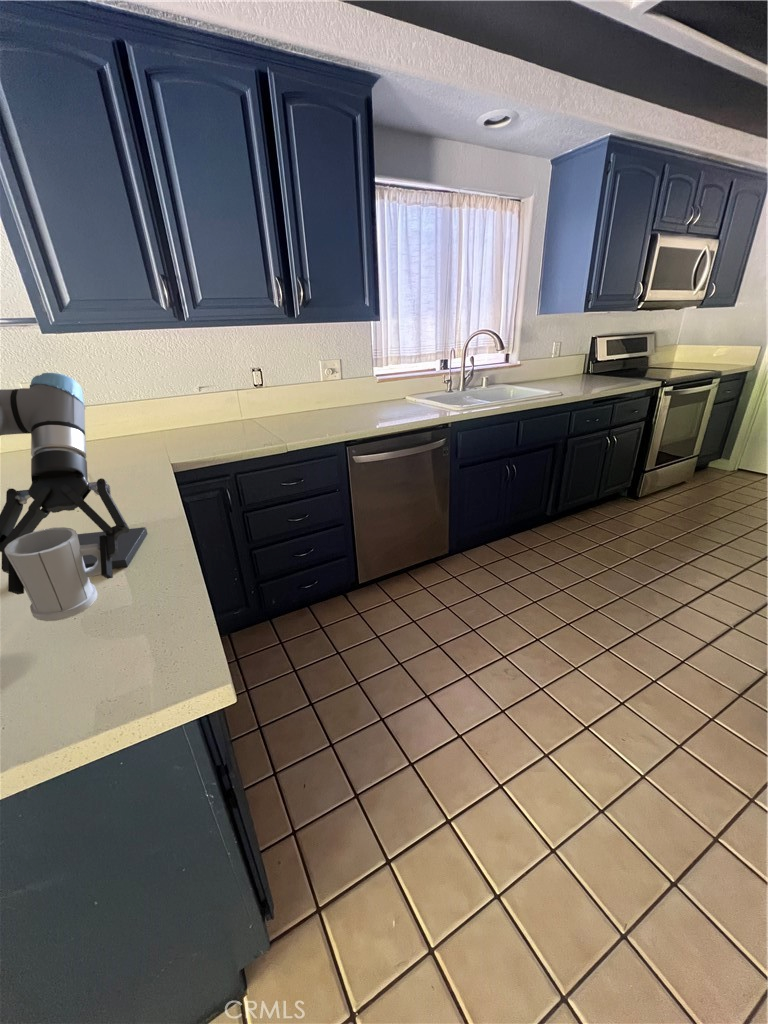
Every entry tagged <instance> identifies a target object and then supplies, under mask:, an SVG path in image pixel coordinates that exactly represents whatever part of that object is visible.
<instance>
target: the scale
mask: <svg viewBox="0 0 768 1024" xmlns="http://www.w3.org/2000/svg"><path fill="white" fill-rule="evenodd" d="M129 529H130V530H129V532H128V533H123V534H121V535H119V536H118V538H117V544H118V554H117V556H113V557H112V570H115V569H123V568H129V566H130V564H131V562H132V561H133V559H134V558H135V557H136V554H137V553H138V551H139V549H140V547H141V546H142V544H143V543H144V541H145V539H146V537H147V536H148V534H149V533H148V530H147V527H146V526H144V527H136V528H135V527H134V528H133V527H132V528H129ZM77 535H78V539H79V544H80V545H89V544H98V545H100V539H99V536H102V535H105V536H106V533H104V532H103V531H94V532H85V533H84V532H83V533H77ZM82 556H83V560H84V564H85V567H86V568H90V567H93V566H94V564H95V563H96V562H97V557H95V556H93V555H82Z"/></svg>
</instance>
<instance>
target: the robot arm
mask: <svg viewBox="0 0 768 1024" xmlns="http://www.w3.org/2000/svg"><path fill="white" fill-rule="evenodd" d="M85 411H86V405H85V403H84V393H83V388H82V386H81V385H80V383H79V382H77V380H75V379H73V378H71V377H70V376H68V375H65V374H61V373H59V372H58V373H57V372H42V373H41V374H40V375H39V374H37V375H35V376H34V377H32V378H31V381H30V384H29V387H21V388H13V389H11V388H10V389H9V388H7V389H2V388H1V389H0V437H1V436H7V435H28V434H30V456H31V458H30V480H31V484H30V487H28V489H21V490H17V489H15V488H8V489H7V490H6V492H5V493H6V494H5V496H6V497H5V504H4V506H3V508H2V509H1V512H0V553H1V571H2V572H3V573H6V574H7V576H8V577H7V580H8V581H7V592H9V593H12V594H15V595H23V594H25V588H24V586H23V584H22V582H21V580H20V579H19V577H18V575H17V573H16V571H15V569H14V568H13V566H12V564H11V562H10V561H9V559H8V557H7V556H6V554H5V548H6V546H7V545H8V544H9V543H10V542H12V541H13V540H15V539H17V538H19V537H21V536H23V535H26V534H29V533H32V532H35V531H36V529H37V527H38V526H39V525H40V524H41V522H42V521H43V520H44V519H46V518H47V517H49V515H50V514H51V513H52V514H57V513H60V512H64V511H68V512H70V511H71V512H72V511H75V509H77V508H79V509H80V510H81V511H82V512H83V513H84V514H85V515H86V516H87V517H88V518H89V519H90V520H91V521H92V522H94V524H95V525H96V526H97V527H98V528H99V529H100V530H101V532H104V533H106V536H105V535H102V536H99V539H100V557H101V574H100V575H101V576H102V577H103V578H105V579H107V580H108V579H109V580H110V579H113V578H114V575H113V569H112V557H113V556H117V554H118V544H117V538H118V536H119V535H121V534H123V533H128V532H129V530H130V529H131V528H130V527H129V526H128V523H127V522H126V520H125V518H124V516H123V515H122V513H121V511H120V509H119V507H118V506H117V504H116V502H115V501H114V499H113V497H112V494H111V485H110V484H109V483H108V482H107V481H106V479H105V478H98V479H97V480H96V481H92V482H89V480H88V479H89V475H88V461H87V438H86V414H85V413H86V412H85ZM92 491H93V492H94V493H95V494H96V495H97V496H99V497H100V499H101V501H102V503H103V505H104V506H105V508H106V510H107V511H108V513H109V515H110V517H111V519H112V521H113V522H114V524H115V525H113V526H111V525H109V523H108V522H106V520H104V519H103V518H102V517H101V516H100V514H98V513H97V512H96V511H95V510H94V509H93V508H92V507H91V506H90V505H89V504H88V503H87V502H86V501H85V499H87V497H88V496H89V494H90V493H91V492H92ZM30 498H31V499H32V500H33V501H31V503H30V504H29V506H28V507H27V508H28V509H27V512H26V513H25V514H24V515H23V516H22V518H21V519H20V520H19V518H20V516H21V514H22V511H23V509H24V505H26V504H28V500H29V499H30ZM18 520H19V521H18Z"/></svg>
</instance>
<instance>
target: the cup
mask: <svg viewBox="0 0 768 1024" xmlns="http://www.w3.org/2000/svg"><path fill="white" fill-rule="evenodd" d="M77 534H78V533H77V530H75V529H73V528H71V527H64V526H61V527H50V528H49V527H48V528H45V529H39V530H34V531H33V532H32V533H29V534H26V535H23V536H21V537H19V538H17V539H15V540H13V541H12V542H10V543H9V544H8V545H7V546H6V548H5V554H6V556H7V557H8V559H9V561H10V562H11V564H12V566H13V568H14V569H15V571H16V573H17V575H18V577H19V579H20V580H21V582H22V584H23V586H24V591H25V592H26V595H27V597H28V599H29V601H30V604H29V608H30V612H31V613H30V614H31V615H32V617H33V618H35V619H36V620H37V621H41V622H42V621H43V622H57V621H58V622H59V621H63V620H66V619H69V618H72V617H75V616H77V615H79V614H81V613H83V612H85V611H86V610H87V609H89V608H91V606H92V605H93V604H94V603H95V602H96V601H97V599H98V596H99V594H98V591H97V587H96V586H95V585H94V583H91V580H90V577H94V576H97V575H101V557H100V545H98V544H89V545H80V544H79V539H78V535H77ZM82 555H93V556H95V557H97V562H96V563H95V564H94V566H93V567H90V568H86V567H85V564H84V560H83V556H82Z"/></svg>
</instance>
